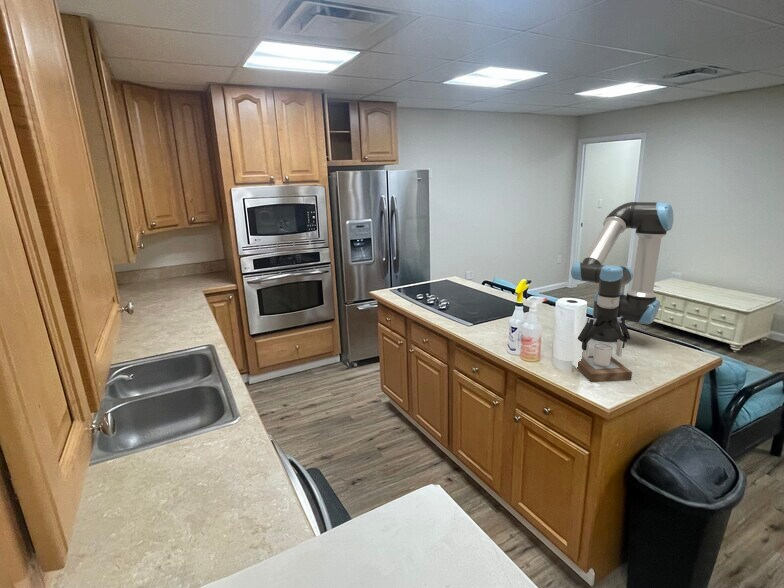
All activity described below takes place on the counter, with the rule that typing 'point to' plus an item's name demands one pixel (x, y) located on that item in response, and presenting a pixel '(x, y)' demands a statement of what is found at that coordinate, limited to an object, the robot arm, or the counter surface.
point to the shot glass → (602, 354)
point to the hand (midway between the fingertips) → (601, 356)
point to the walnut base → (603, 370)
